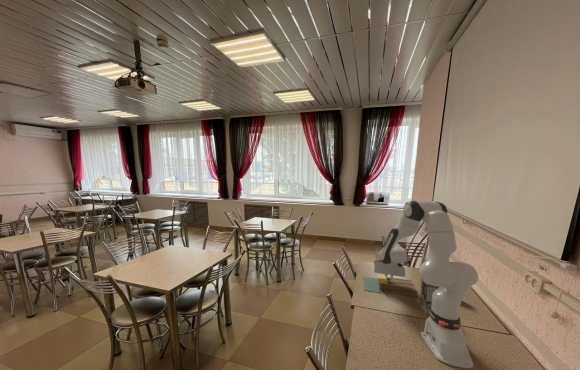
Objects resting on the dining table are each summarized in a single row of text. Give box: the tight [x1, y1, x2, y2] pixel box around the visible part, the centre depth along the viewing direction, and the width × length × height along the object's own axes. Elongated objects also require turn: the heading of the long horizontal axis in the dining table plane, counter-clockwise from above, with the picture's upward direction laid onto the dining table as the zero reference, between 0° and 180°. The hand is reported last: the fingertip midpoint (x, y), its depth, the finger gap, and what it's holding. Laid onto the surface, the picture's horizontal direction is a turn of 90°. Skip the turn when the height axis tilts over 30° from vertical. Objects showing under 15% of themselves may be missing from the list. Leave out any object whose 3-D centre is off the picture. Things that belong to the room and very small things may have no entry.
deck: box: [378, 277, 418, 298], centre depth 152 cm, size 14×22×4 cm, turn 74°
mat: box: [363, 275, 381, 294], centre depth 157 cm, size 20×10×1 cm, turn 164°
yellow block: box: [376, 273, 387, 284], centre depth 155 cm, size 9×6×2 cm, turn 163°
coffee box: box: [419, 279, 439, 315], centre depth 130 cm, size 9×6×16 cm
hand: (388, 280), depth 154 cm, fingers closed
